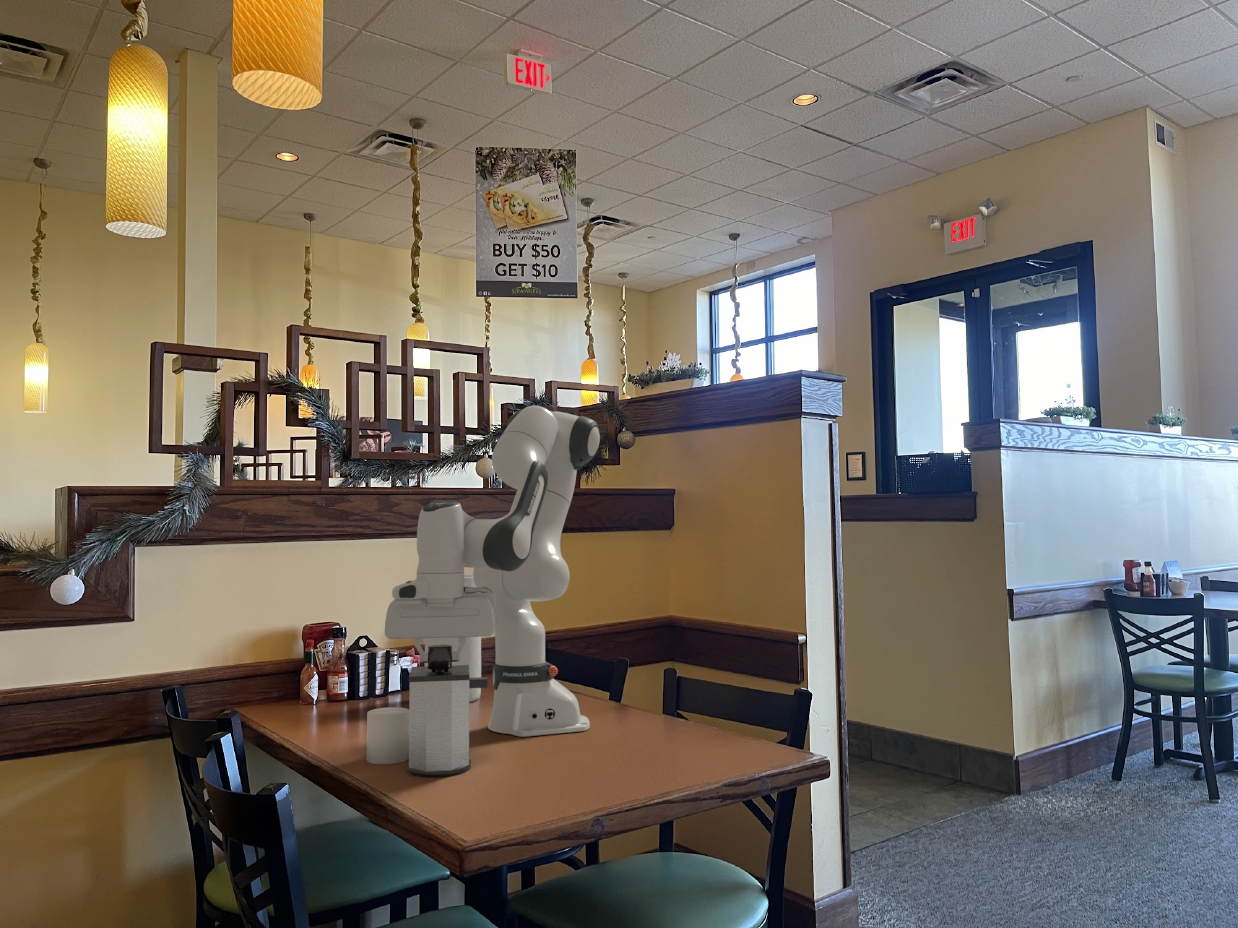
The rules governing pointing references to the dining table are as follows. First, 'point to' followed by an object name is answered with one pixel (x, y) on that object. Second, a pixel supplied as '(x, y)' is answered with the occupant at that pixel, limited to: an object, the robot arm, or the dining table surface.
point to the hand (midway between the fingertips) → (439, 661)
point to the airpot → (440, 720)
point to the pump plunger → (439, 657)
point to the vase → (464, 649)
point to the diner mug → (387, 735)
